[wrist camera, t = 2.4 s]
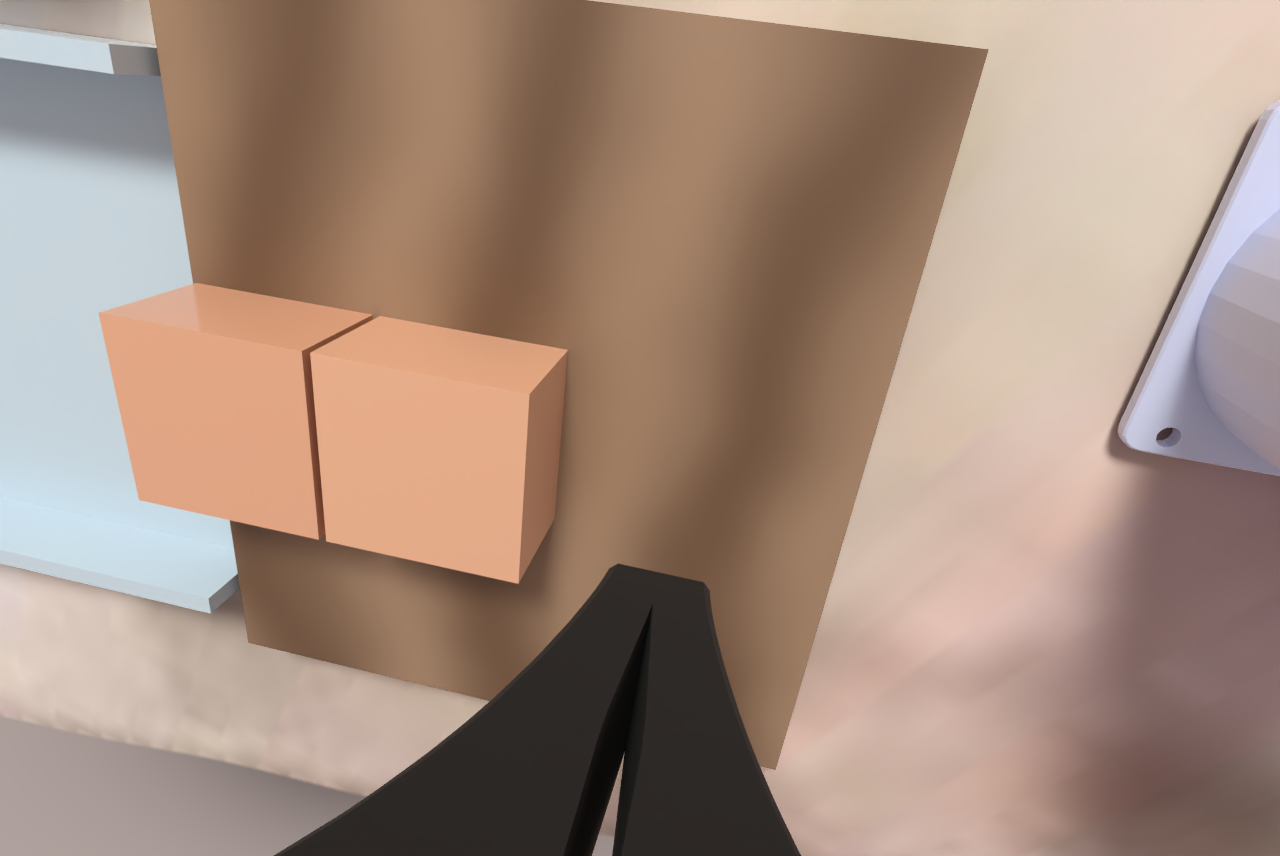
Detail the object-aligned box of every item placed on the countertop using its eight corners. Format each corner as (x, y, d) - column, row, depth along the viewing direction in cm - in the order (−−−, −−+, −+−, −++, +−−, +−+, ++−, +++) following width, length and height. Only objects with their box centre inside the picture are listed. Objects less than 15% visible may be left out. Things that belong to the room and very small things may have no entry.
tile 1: (373, 314, 18) (301, 350, 16) (380, 481, 20) (319, 539, 18) (196, 282, 19) (98, 312, 16) (221, 449, 21) (138, 500, 18)
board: (964, 56, 15) (988, 49, 14) (776, 720, 24) (775, 769, 22) (207, -38, 17) (140, -55, 16) (285, 605, 26) (248, 642, 24)
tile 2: (568, 349, 18) (529, 394, 15) (554, 518, 20) (518, 583, 17) (379, 316, 18) (310, 352, 16) (386, 483, 20) (325, 541, 18)
